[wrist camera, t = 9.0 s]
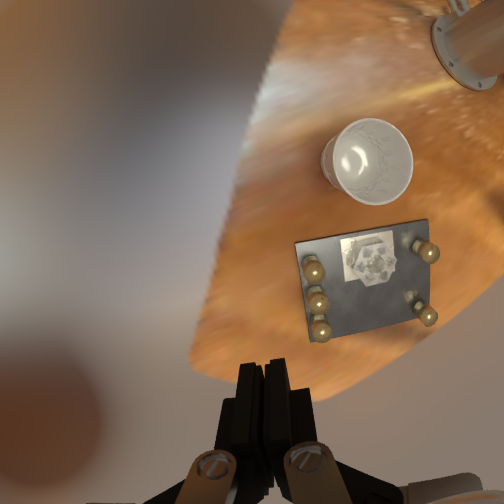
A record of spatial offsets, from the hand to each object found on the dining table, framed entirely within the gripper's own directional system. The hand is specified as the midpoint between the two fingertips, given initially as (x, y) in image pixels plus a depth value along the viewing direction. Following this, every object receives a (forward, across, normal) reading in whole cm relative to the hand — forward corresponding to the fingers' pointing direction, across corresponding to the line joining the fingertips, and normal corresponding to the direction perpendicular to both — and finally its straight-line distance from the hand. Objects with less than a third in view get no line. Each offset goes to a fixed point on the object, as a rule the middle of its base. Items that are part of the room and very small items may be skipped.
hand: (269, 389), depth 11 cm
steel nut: (+26, -12, +5) cm, 30 cm away
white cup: (+27, -11, -7) cm, 30 cm away
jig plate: (+27, -12, +8) cm, 31 cm away
